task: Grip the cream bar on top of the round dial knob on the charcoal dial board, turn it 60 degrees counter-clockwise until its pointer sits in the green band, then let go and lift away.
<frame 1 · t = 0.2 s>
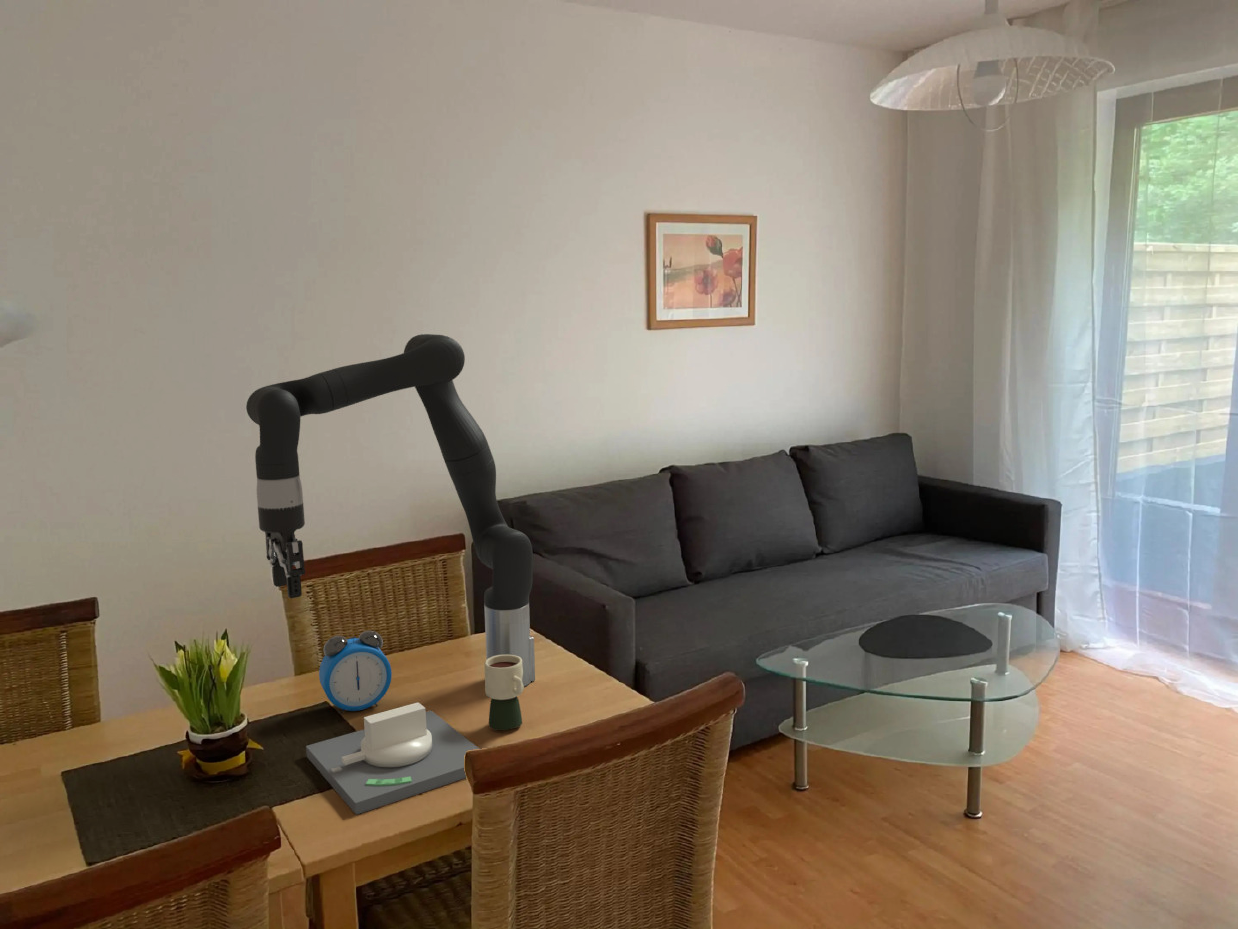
hand: (287, 591, 167), 29 cm above the table, tool pointing down, fingers open, 8 cm apart
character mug: (505, 727, 178), on the table
alarm clock: (357, 707, 187), on the table
dial: (386, 734, 162), point 6 cm above the table, hinge at 0.0°
dial board: (397, 762, 164), on the table
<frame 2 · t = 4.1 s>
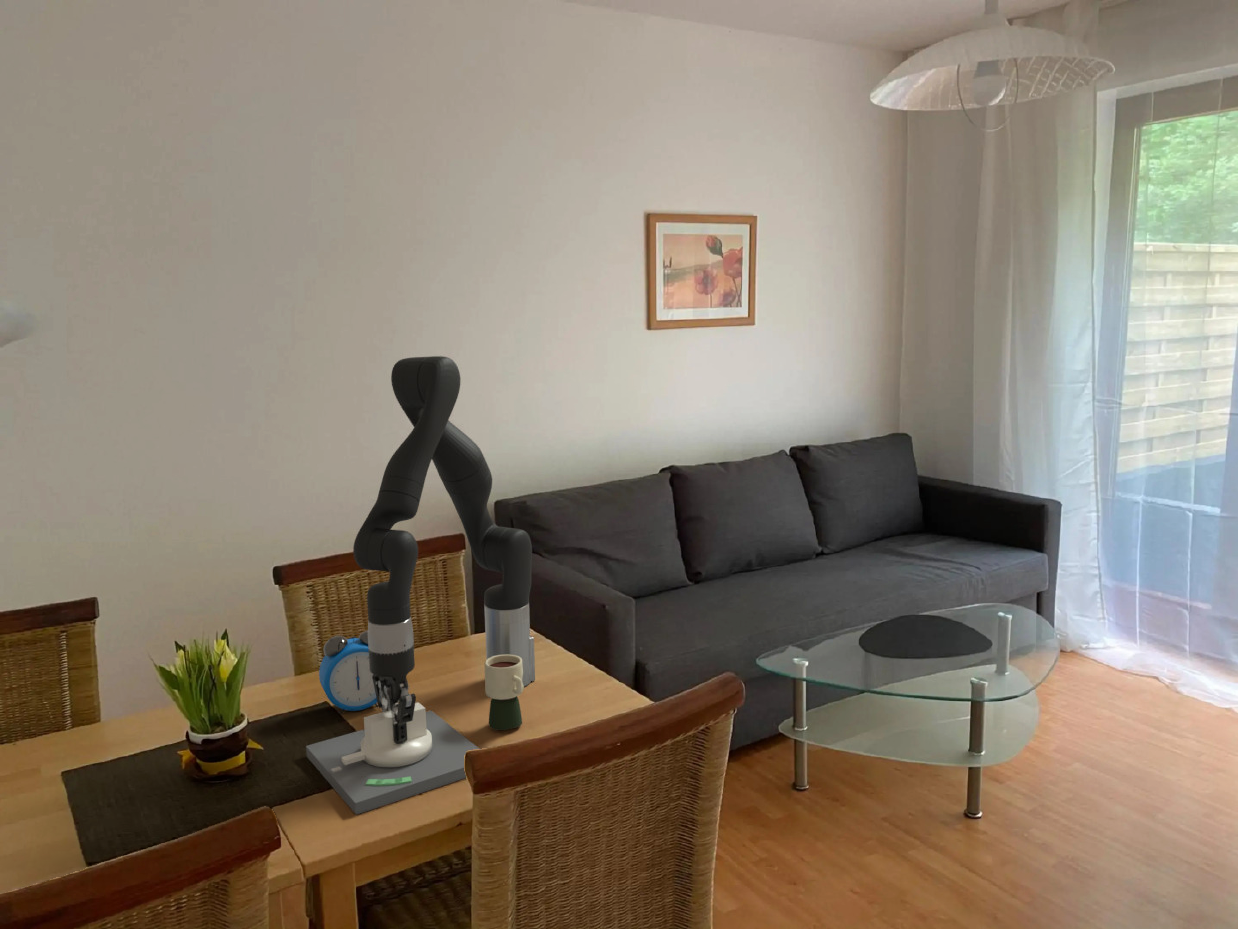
hand: (396, 737, 163), 5 cm above the table, tool pointing down, fingers closed on dial, 3 cm apart
dial: (386, 734, 162), point 6 cm above the table, hinge at 0.0°, touching gripper
everything else where it was.
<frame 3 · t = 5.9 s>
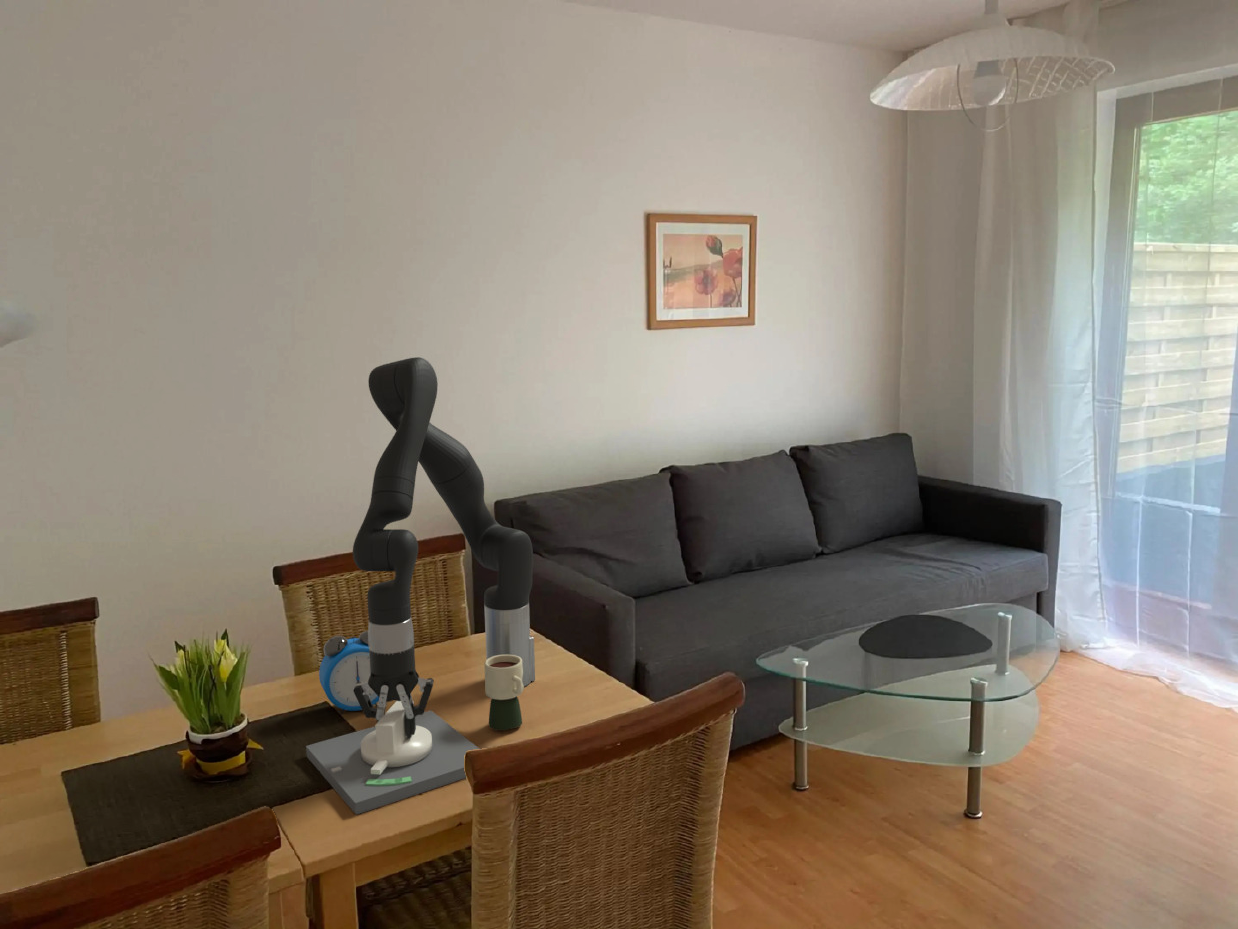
hand: (397, 736, 164), 5 cm above the table, tool pointing down, fingers closed on dial, 3 cm apart
dial: (392, 736, 161), point 6 cm above the table, hinge at 45.9°, touching gripper
everything else where it was.
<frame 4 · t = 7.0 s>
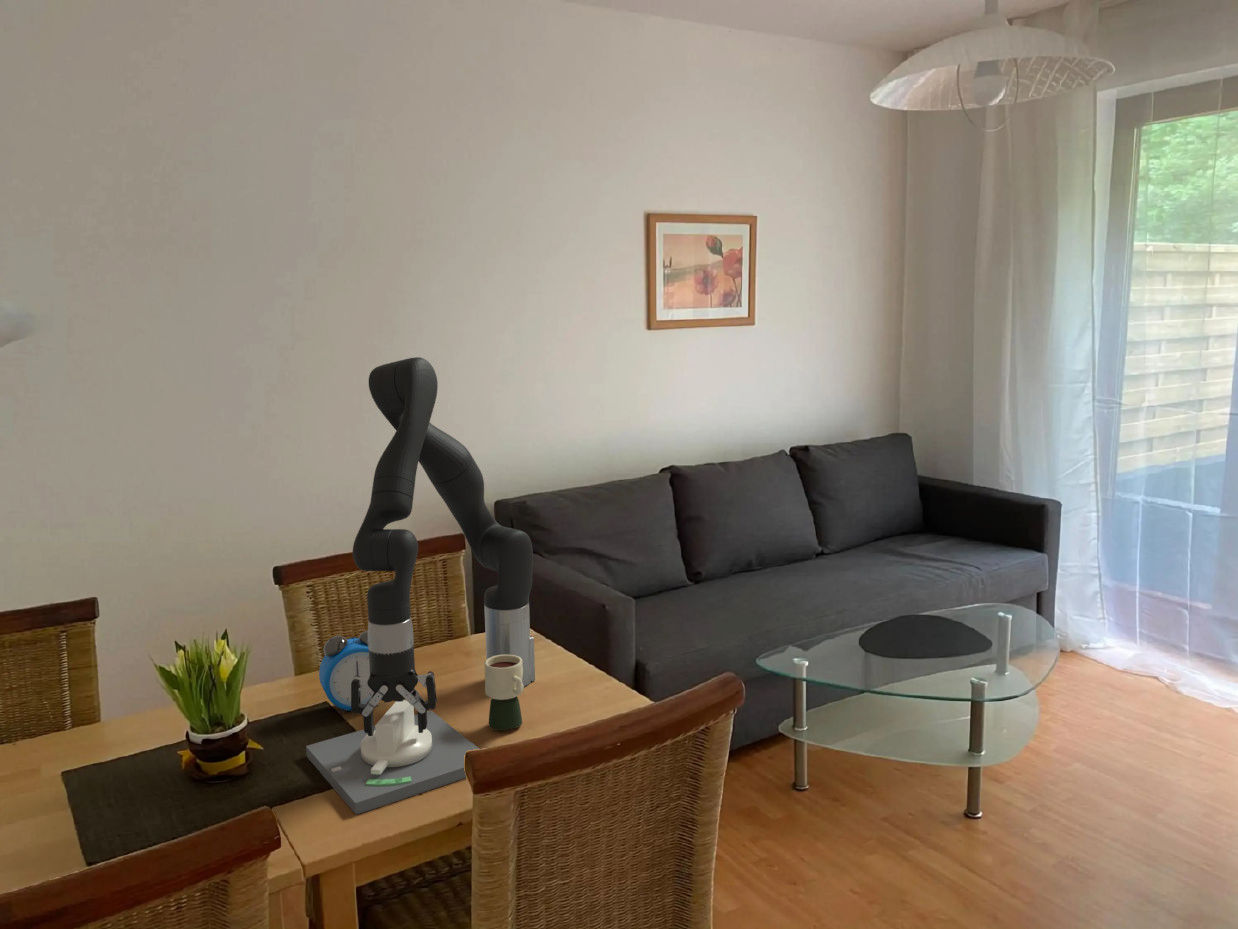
hand: (396, 732, 163), 6 cm above the table, tool pointing down, fingers open, 8 cm apart
dial: (392, 736, 161), point 6 cm above the table, hinge at 46.2°
everything else where it was.
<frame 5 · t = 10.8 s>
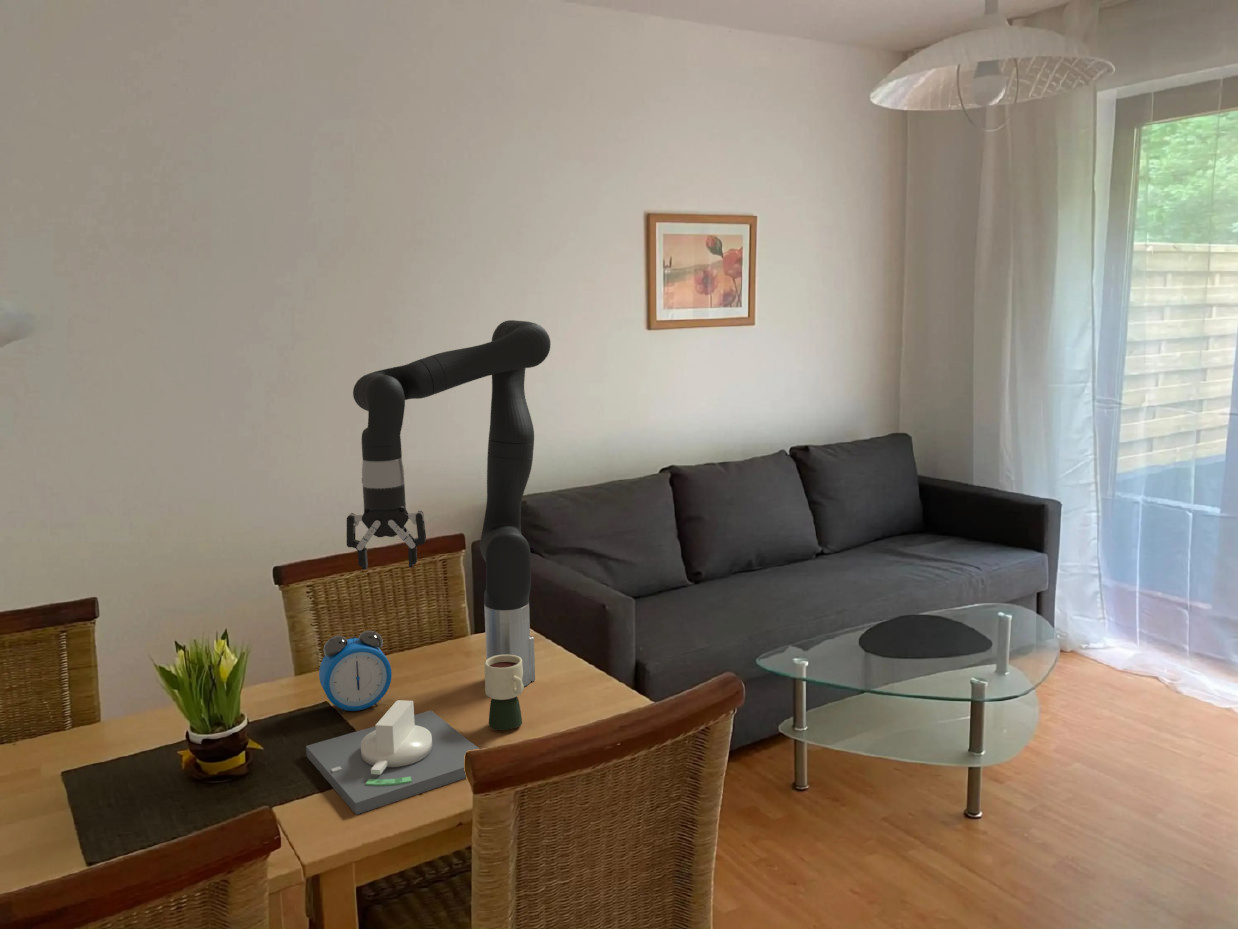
hand: (388, 567, 177), 30 cm above the table, tool pointing down, fingers open, 8 cm apart
nothing on the table moved.
at the end: dial at +46° (first picture: +0°); the gripper is holding nothing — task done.
